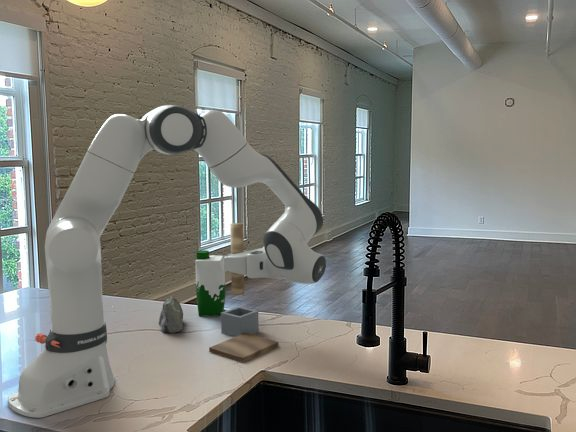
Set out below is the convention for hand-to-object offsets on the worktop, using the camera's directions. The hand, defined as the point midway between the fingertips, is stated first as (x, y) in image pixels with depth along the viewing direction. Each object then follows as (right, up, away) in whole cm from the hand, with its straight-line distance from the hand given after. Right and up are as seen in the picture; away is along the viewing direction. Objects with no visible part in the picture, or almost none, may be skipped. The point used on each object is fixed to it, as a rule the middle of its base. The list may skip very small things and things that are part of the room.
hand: (235, 255), depth 162 cm
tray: (+3, -24, -11) cm, 27 cm away
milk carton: (-9, -20, +21) cm, 31 cm away
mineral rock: (-19, -22, +9) cm, 30 cm away
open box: (+1, -22, +3) cm, 23 cm away
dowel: (+1, -11, +1) cm, 11 cm away
